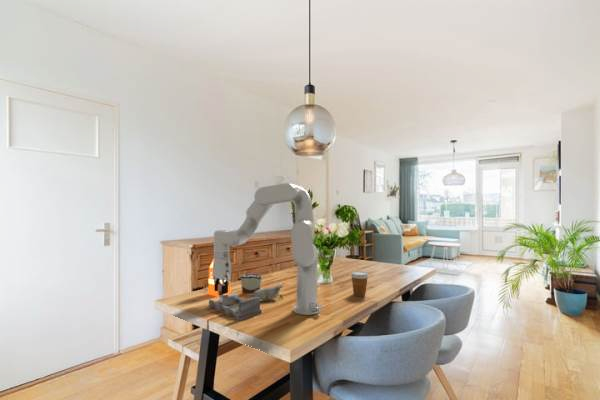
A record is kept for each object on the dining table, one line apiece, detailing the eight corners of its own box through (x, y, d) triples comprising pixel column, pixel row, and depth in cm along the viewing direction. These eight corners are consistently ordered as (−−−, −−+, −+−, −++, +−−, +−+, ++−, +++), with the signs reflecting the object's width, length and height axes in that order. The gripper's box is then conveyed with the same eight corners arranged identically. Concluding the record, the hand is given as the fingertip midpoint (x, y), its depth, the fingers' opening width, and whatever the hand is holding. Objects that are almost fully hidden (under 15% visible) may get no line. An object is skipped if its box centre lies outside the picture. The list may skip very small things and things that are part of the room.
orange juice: (230, 292, 168) (230, 256, 169) (217, 296, 161) (218, 259, 161) (220, 290, 173) (221, 255, 173) (208, 294, 166) (208, 257, 166)
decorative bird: (251, 300, 156) (251, 285, 156) (281, 297, 161) (281, 283, 162) (253, 303, 151) (253, 288, 151) (284, 300, 156) (284, 286, 157)
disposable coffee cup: (349, 296, 164) (349, 274, 164) (351, 291, 173) (352, 270, 173) (367, 298, 161) (367, 275, 161) (368, 293, 170) (369, 271, 170)
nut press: (261, 313, 137) (261, 296, 137) (239, 320, 129) (239, 302, 129) (230, 300, 155) (230, 286, 155) (208, 306, 146) (209, 290, 146)
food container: (264, 291, 172) (264, 273, 172) (261, 294, 166) (261, 276, 166) (242, 290, 173) (243, 272, 173) (239, 293, 167) (239, 275, 167)
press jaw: (238, 302, 147) (238, 285, 147) (222, 306, 140) (222, 289, 141) (227, 297, 154) (227, 281, 154) (211, 301, 147) (211, 285, 147)
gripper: (238, 256, 147) (237, 294, 146) (218, 252, 158) (218, 287, 158) (224, 258, 141) (224, 297, 141) (205, 254, 153) (205, 290, 153)
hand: (221, 291), depth 150 cm, fingers open, 5 cm apart
